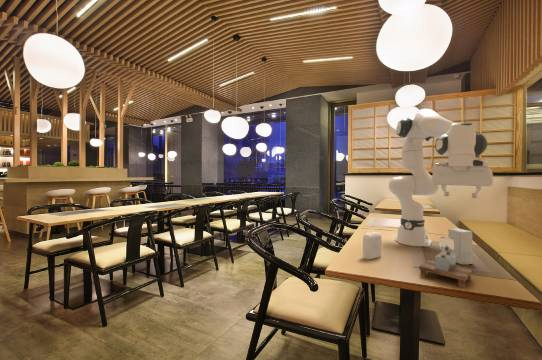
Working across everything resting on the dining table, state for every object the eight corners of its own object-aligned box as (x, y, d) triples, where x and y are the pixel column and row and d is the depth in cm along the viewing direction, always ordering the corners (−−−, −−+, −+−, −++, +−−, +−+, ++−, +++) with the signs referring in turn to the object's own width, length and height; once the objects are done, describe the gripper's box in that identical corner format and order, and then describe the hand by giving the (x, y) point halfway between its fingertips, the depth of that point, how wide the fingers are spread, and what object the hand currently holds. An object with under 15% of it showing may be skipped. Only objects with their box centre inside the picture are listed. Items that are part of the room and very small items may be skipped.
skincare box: (473, 264, 120) (474, 231, 119) (460, 264, 119) (461, 231, 119) (459, 258, 128) (460, 227, 128) (446, 258, 128) (447, 227, 127)
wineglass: (435, 263, 120) (436, 237, 120) (444, 262, 123) (444, 236, 122) (448, 267, 115) (449, 240, 115) (457, 266, 117) (457, 239, 117)
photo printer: (374, 254, 133) (375, 229, 133) (382, 257, 129) (382, 231, 129) (361, 258, 127) (361, 232, 127) (368, 260, 124) (369, 233, 123)
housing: (435, 269, 102) (435, 254, 102) (442, 263, 109) (443, 249, 109) (448, 272, 99) (449, 256, 99) (455, 266, 106) (455, 251, 105)
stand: (428, 269, 113) (428, 259, 113) (472, 279, 102) (472, 269, 102) (418, 276, 105) (419, 266, 105) (465, 288, 94) (465, 277, 94)
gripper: (429, 162, 113) (428, 195, 114) (492, 161, 98) (490, 199, 99) (434, 163, 118) (433, 194, 118) (494, 162, 103) (493, 198, 103)
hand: (460, 196), depth 108 cm, fingers open, 8 cm apart
